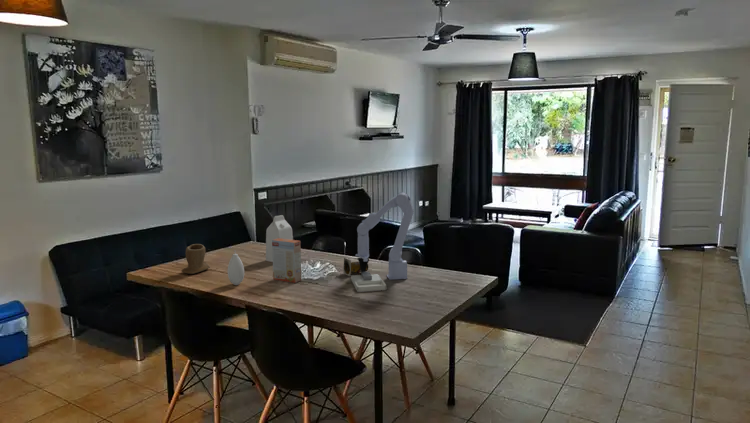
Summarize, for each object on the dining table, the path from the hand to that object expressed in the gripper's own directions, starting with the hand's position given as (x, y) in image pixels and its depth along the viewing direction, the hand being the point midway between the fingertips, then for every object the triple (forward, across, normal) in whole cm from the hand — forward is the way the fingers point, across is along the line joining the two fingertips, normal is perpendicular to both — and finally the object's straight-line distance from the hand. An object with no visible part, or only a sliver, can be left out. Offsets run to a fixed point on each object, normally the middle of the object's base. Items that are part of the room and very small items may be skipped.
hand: (363, 271), depth 280 cm
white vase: (+3, +2, -64) cm, 64 cm away
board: (+3, +9, 0) cm, 10 cm away
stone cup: (+3, -26, -86) cm, 90 cm away
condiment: (-2, -5, -8) cm, 10 cm away
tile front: (+1, +11, 0) cm, 11 cm away
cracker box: (+3, -1, -39) cm, 39 cm away
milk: (+3, -43, -42) cm, 60 cm away
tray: (+3, +20, 0) cm, 20 cm away
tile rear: (+1, +7, 0) cm, 7 cm away
